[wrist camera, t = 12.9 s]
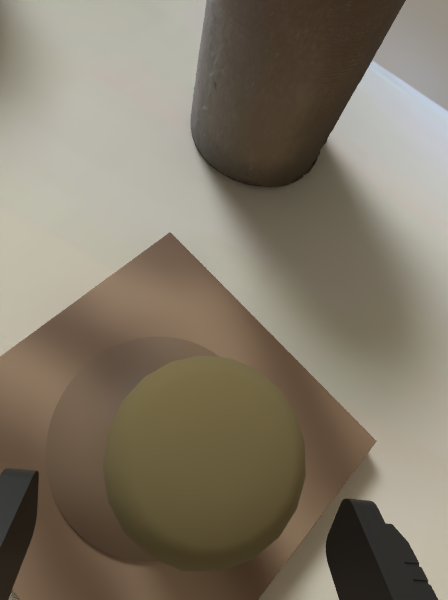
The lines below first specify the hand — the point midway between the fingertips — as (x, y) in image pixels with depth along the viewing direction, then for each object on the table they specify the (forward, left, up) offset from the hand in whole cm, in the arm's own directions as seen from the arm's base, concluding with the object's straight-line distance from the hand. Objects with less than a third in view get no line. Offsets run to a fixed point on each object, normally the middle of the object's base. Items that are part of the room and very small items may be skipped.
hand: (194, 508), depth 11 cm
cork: (+1, +1, -9) cm, 9 cm away
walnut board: (+1, +2, -10) cm, 11 cm away
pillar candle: (+20, +13, -11) cm, 26 cm away
